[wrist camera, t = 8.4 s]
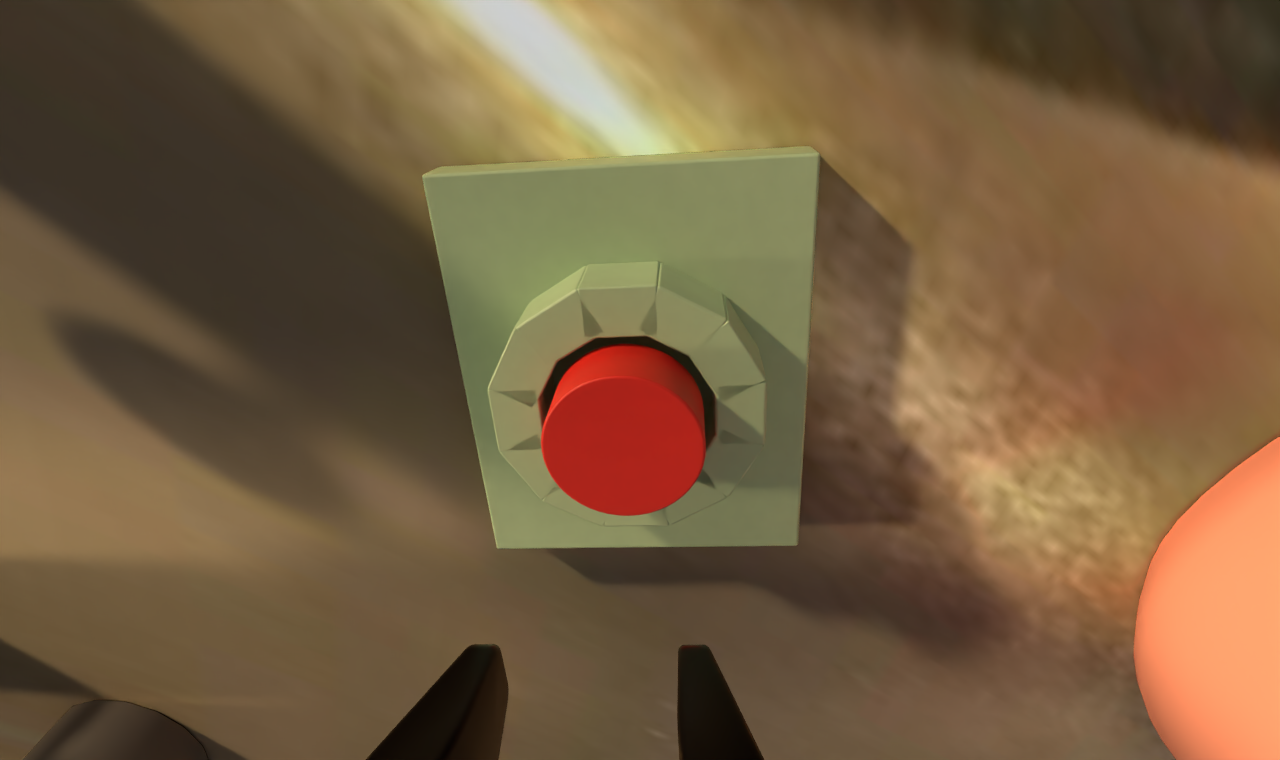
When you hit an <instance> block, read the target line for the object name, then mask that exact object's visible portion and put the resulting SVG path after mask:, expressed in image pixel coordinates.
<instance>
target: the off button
mask: <svg viewBox="0 0 1280 760" xmlns="http://www.w3.org/2000/svg"><path fill="white" fill-rule="evenodd" d="M541 449H542V455H543V459H544V462H545V464H546V467H547V469H548V471H549V473H550V475H551V477H552V478H553V480H554V481H555V482H556V484H557V485H558V486H559V487H560V488H561V489H562V490H563V491H564V492H565V493H566V494H567V495H568V496H570V497H571V498H572V499H574V500H575V501H577V502H578V503H580V504H582V505H584V506H586V507H588V508H590V509H593V510H596V511H598V512H602V513H606V514H612V515H619V516H634V515H642V514H648V513H652V512H655V511H658V510H661V509H663V508H665V507H668V506H669V505H671V504H673V503H675V502H676V501H677V500H679V499H680V498H681V497H683V496H684V495H685V494H686V493H687V492H688V491H689V490H690V489H691V487H692V486H693V485H694V483H695V482H696V480H697V479H698V477H699V475H700V473H701V471H702V468H703V465H704V461H705V456H706V438H705V422H704V408H703V400H702V396H701V393H700V390H699V388H698V385H697V384H696V382H695V380H694V378H693V377H692V376H691V374H690V373H689V372H688V371H687V369H686V368H685V367H684V366H683V365H681V364H680V363H679V362H678V361H677V360H675V359H674V358H673V357H671V356H669V355H667V354H666V353H664V352H662V351H659V350H657V349H654V348H651V347H648V346H644V345H638V344H613V345H608V346H604V347H601V348H598V349H595V350H593V351H591V352H589V353H587V354H585V355H583V356H582V357H580V358H579V359H578V360H576V361H575V362H574V363H573V364H572V365H571V366H570V367H569V368H568V369H567V371H566V372H565V373H564V375H563V376H562V378H561V380H560V381H559V384H558V386H557V389H556V391H555V394H554V397H553V400H552V402H551V405H550V408H549V411H548V413H547V416H546V419H545V422H544V425H543V429H542V434H541Z"/></svg>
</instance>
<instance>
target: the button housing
mask: <svg viewBox="0 0 1280 760" xmlns="http://www.w3.org/2000/svg"><path fill="white" fill-rule="evenodd" d="M819 172H820V153H818V152H817V151H816V150H815V149H813V148H812V147H810V146H799V147H781V148H763V149H746V150H728V151H710V152H692V153H675V154H657V155H639V156H622V157H604V158H586V159H568V160H551V161H533V162H515V163H498V164H480V165H462V166H444V167H438V168H436V169H434V170H432V171H430V172H428V173H426V174H424V175H423V177H422V179H423V184H424V189H425V194H426V199H427V204H428V209H429V214H430V218H431V223H432V228H433V233H434V238H435V243H436V248H437V253H438V258H439V263H440V268H441V273H442V278H443V283H444V288H445V293H446V298H447V303H448V308H449V313H450V317H451V322H452V327H453V332H454V337H455V342H456V347H457V352H458V357H459V362H460V367H461V372H462V377H463V382H464V387H465V392H466V397H467V402H468V407H469V412H470V416H471V421H472V426H473V431H474V436H475V441H476V446H477V451H478V456H479V461H480V466H481V471H482V476H483V481H484V486H485V491H486V496H487V501H488V506H489V511H490V515H491V520H492V525H493V530H494V535H495V540H496V545H497V548H498V549H528V548H622V547H716V546H796V545H797V544H798V537H799V520H800V502H801V485H802V468H803V450H804V433H805V415H806V398H807V381H808V363H809V346H810V329H811V311H812V294H813V276H814V259H815V242H816V224H817V207H818V190H819ZM613 344H638V345H644V346H648V347H651V348H654V349H657V350H659V351H662V352H664V353H666V354H667V355H669V356H671V357H673V358H674V359H675V360H677V361H678V362H679V363H680V364H681V365H683V366H684V367H685V368H686V369H687V371H688V372H689V373H690V374H691V376H692V377H693V378H694V380H695V382H696V384H697V385H698V388H699V390H700V393H701V396H702V400H703V408H704V422H705V438H706V456H705V461H704V465H703V468H702V471H701V473H700V475H699V477H698V479H697V480H696V482H695V483H694V485H693V486H692V487H691V489H690V490H689V491H688V492H687V493H686V494H685V495H684V496H683V497H681V498H680V499H679V500H677V501H676V502H675V503H673V504H671V505H669V506H668V507H665V508H663V509H661V510H658V511H655V512H652V513H648V514H642V515H634V516H619V515H612V514H606V513H602V512H598V511H596V510H593V509H590V508H588V507H586V506H584V505H582V504H580V503H578V502H577V501H575V500H574V499H572V498H571V497H570V496H568V495H567V494H566V493H565V492H564V491H563V490H562V489H561V488H560V487H559V486H558V485H557V484H556V482H555V481H554V480H553V478H552V477H551V475H550V473H549V471H548V469H547V467H546V464H545V462H544V459H543V455H542V449H541V434H542V429H543V425H544V422H545V419H546V416H547V413H548V411H549V408H550V405H551V402H552V400H553V397H554V394H555V391H556V389H557V386H558V384H559V381H560V380H561V378H562V376H563V375H564V373H565V372H566V371H567V369H568V368H569V367H570V366H571V365H572V364H573V363H574V362H575V361H576V360H578V359H579V358H580V357H582V356H583V355H585V354H587V353H589V352H591V351H593V350H595V349H598V348H601V347H604V346H608V345H613Z"/></svg>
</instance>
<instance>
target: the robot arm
mask: <svg viewBox="0 0 1280 760" xmlns="http://www.w3.org/2000/svg"><path fill="white" fill-rule="evenodd" d="M507 703H508V681H507V677H506V672H505V667H504V663H503V658H502V654H501V650H500V648H499V647H498V646H497V645H494V644H474V645H471V646H469V647H467V648H466V649H465V650H464V651H463V653H462V654H461V655H460V656H459V657H458V658H457V659H456V660H455V661H454V662H453V664H452V665H451V666H450V667H449V668H448V669H447V670H446V671H445V672H444V674H443V675H442V676H441V677H440V678H439V679H438V680H437V681H436V682H435V684H434V685H433V686H432V687H431V688H430V689H429V690H428V691H427V692H426V693H425V695H424V696H423V697H422V698H421V699H420V700H419V701H418V702H417V703H416V705H415V706H414V707H413V708H412V709H411V710H410V711H409V712H408V713H407V715H406V716H405V717H404V718H403V719H402V720H401V721H400V722H399V723H398V724H397V726H396V727H395V728H394V729H393V730H392V731H391V732H390V733H389V734H388V736H387V737H386V738H385V739H384V740H383V741H382V742H381V743H380V744H379V746H378V747H377V748H376V749H375V750H374V751H373V752H372V753H371V754H370V755H369V757H368V758H367V759H366V760H498V759H499V752H500V746H501V740H502V734H503V728H504V722H505V715H506V709H507ZM677 721H678V743H679V760H764V758H763V756H762V754H761V752H760V750H759V748H758V746H757V744H756V742H755V740H754V738H753V736H752V734H751V732H750V730H749V728H748V725H747V723H746V721H745V719H744V717H743V715H742V713H741V711H740V709H739V707H738V705H737V703H736V701H735V699H734V697H733V695H732V693H731V691H730V689H729V687H728V685H727V683H726V681H725V678H724V676H723V674H722V672H721V670H720V668H719V666H718V664H717V662H716V660H715V658H714V656H713V654H712V652H711V650H710V649H709V647H708V646H706V645H682V646H680V648H679V651H678V706H677Z"/></svg>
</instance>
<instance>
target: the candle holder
mask: <svg viewBox="0 0 1280 760" xmlns="http://www.w3.org/2000/svg"><path fill="white" fill-rule="evenodd" d="M22 760H208V758H207V756H206V754H205V751H204V749H203V747H202V745H201V744H200V743H199V742H198V741H197V740H196V739H195V738H194V737H193V736H192V735H191V734H190V733H189V732H188V731H187V730H186V729H185V728H184V727H182V726H180V725H179V724H177V723H175V722H174V721H172V720H170V719H168V718H167V717H165V716H163V715H161V714H160V713H158V712H156V711H153V710H150V709H146V708H143V707H140V706H137V705H134V704H131V703H127V702H119V701H104V700H94V701H90V702H86V703H82V704H78V705H75V706H72V707H71V708H70V709H69V710H68V711H67V712H66V713H65V714H64V715H63V716H62V717H61V718H60V719H59V721H58V722H57V723H56V724H55V725H54V726H53V727H52V728H51V729H50V730H49V731H48V732H47V733H46V735H45V736H44V737H43V738H42V739H41V740H40V741H39V742H38V743H37V744H36V745H35V746H34V747H33V749H32V750H31V751H30V752H29V753H28V754H27V755H26V756H25V757H24V758H23V759H22Z"/></svg>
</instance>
